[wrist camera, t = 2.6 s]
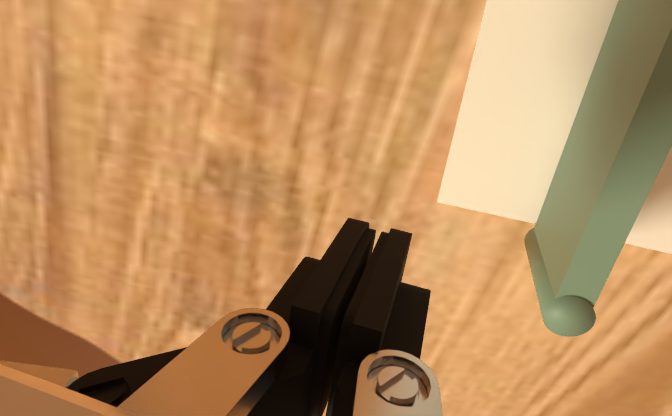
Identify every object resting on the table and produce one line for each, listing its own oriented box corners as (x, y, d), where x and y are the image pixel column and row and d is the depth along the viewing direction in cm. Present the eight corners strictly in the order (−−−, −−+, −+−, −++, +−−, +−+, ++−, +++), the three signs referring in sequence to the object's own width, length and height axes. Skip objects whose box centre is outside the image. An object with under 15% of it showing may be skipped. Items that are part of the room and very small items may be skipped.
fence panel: (643, -89, 14) (737, -146, 9) (698, -85, 14) (825, -142, 9) (519, 251, 20) (536, 328, 15) (556, 260, 20) (585, 342, 15)
